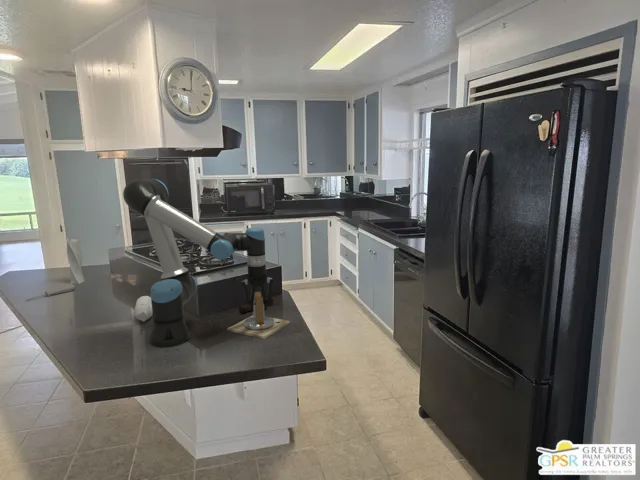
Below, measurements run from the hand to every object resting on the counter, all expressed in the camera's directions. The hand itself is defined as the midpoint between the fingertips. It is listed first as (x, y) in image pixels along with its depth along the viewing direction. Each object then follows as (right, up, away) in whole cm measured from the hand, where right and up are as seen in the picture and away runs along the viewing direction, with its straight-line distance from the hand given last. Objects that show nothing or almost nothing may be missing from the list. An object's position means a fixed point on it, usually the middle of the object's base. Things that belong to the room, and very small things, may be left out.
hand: (258, 317), depth 183 cm
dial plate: (0, -4, +1) cm, 4 cm away
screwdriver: (-121, +3, +50) cm, 131 cm away
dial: (0, -3, 0) cm, 3 cm away
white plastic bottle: (-54, -3, +15) cm, 56 cm away
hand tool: (-4, 0, +24) cm, 25 cm away
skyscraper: (-120, +7, +75) cm, 142 cm away
